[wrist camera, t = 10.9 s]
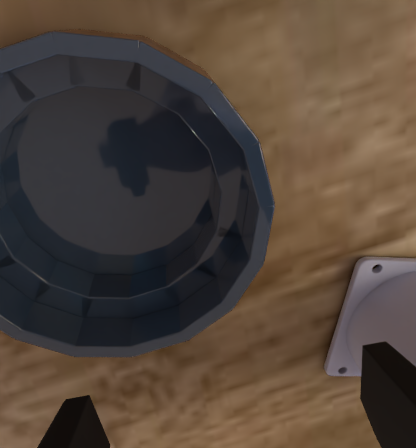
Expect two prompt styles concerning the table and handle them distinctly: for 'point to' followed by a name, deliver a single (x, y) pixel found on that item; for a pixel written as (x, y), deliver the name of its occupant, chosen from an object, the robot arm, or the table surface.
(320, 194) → the table surface
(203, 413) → the table surface
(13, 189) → the dark blue round dish
